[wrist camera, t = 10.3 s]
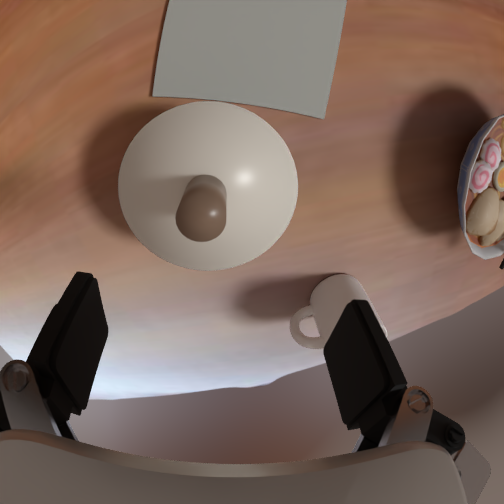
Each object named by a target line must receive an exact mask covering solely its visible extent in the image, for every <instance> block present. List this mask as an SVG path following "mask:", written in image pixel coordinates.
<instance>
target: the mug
mask: <svg viewBox="0 0 504 504" xmlns="http://www.w3.org/2000/svg"><path fill="white" fill-rule="evenodd" d="M353 299H358V300H367V301H368V302H369V304H370V306H371V308H372V310H373V312H374V314H375V316H376V318H377V320H378V322H379V324H380V326H381V328H382V330H383V332H384V334H385V336H386V338H387V330H386V328H385V326H384V324H383V322H382V321H381V319H380V317H379V315H378V313H377V311H376V310H375V308H374V306H373V304H372V302H371V301H370V299H369V297H368V295H367V293H366V292H365V290H364V288H363V287H362V285H361V283H360V282H359V281H358V280H357V279H356V278H355V277H353V276H350V275H347V274H338V275H334V276H331V277H328V278H326V279H325V280H323V281H322V282H320V283H319V284H318V285H317V286H316V287H315V289H314V290H313V292H312V294H311V298H310V305H309V306H306V307H303V308H301V309H300V310H298V311H297V312H296V313H295V314H294V315H293V316H292V318H291V321H290V332H291V335H292V337H293V339H294V340H295V341H296V342H297V343H298V344H300V345H301V346H304V347H306V348H311V349H321V348H324V346H325V344H326V342H327V341H328V339H329V337H330V335H331V333H332V331H333V330H334V328H335V326H336V324H337V322H338V320H339V318H340V316H341V314H342V312H343V310H344V308H345V306H346V305H347V304H348V303H350V302H351V301H352V300H353ZM311 315H313V316H314V319H315V322H316V325H317V328H318V331H319V334H320V337H314V338H313V337H307V336H305V335H304V334H303V333H302V332H301V331H300V328H299V323H300V321H301V320H302V319H303V318H305V317H307V316H311Z"/></svg>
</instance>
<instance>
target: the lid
mask: <svg viewBox="0 0 504 504" xmlns="http://www.w3.org/2000/svg"><path fill="white" fill-rule="evenodd" d="M118 194H119V201H120V206H121V210H122V212H123V215H124V218H125V220H126V222H127V224H128V226H129V227H130V229H131V231H132V232H133V233H134V235H135V236H136V238H137V239H138V240H139V241H140V242H141V243H142V244H143V245H144V246H145V247H146V248H147V249H149V250H150V251H151V252H152V253H154V254H155V255H157V256H158V257H160V258H162V259H164V260H165V261H167V262H169V263H172V264H175V265H177V266H180V267H184V268H188V269H194V270H205V271H213V270H223V269H228V268H232V267H236V266H239V265H242V264H244V263H247V262H249V261H251V260H253V259H255V258H256V257H258V256H260V255H261V254H263V253H264V252H265V251H267V250H268V249H269V248H270V247H271V246H272V245H273V244H274V243H275V242H276V241H277V240H278V239H279V238H280V236H281V235H282V234H283V232H284V231H285V229H286V228H287V226H288V224H289V222H290V220H291V218H292V216H293V213H294V209H295V206H296V201H297V195H298V179H297V171H296V167H295V164H294V160H293V158H292V155H291V153H290V151H289V149H288V147H287V145H286V144H285V142H284V141H283V139H282V138H281V137H280V135H279V134H278V133H277V132H276V131H275V129H274V128H272V127H271V126H270V125H269V124H268V123H267V122H266V121H265V120H263V119H262V118H260V117H259V116H257V115H256V114H254V113H252V112H250V111H248V110H246V109H244V108H242V107H239V106H236V105H233V104H229V103H224V102H218V101H201V102H192V103H188V104H184V105H180V106H177V107H175V108H172V109H170V110H167V111H165V112H163V113H162V114H160V115H158V116H157V117H155V118H154V119H152V120H151V121H150V122H149V123H147V124H146V125H145V126H144V127H143V128H142V129H141V130H140V131H139V132H138V133H137V134H136V136H135V137H134V139H133V140H132V142H131V143H130V144H129V146H128V148H127V150H126V152H125V154H124V157H123V160H122V163H121V166H120V171H119V177H118Z"/></svg>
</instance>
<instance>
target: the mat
mask: <svg viewBox="0 0 504 504" xmlns="http://www.w3.org/2000/svg"><path fill="white" fill-rule="evenodd" d="M346 2H347V0H170V1H169V5H168V9H167V13H166V18H165V22H164V27H163V32H162V37H161V42H160V48H159V54H158V60H157V66H156V73H155V80H154V88H153V96H155V97H181V98H196V99H208V100H218V101H227V102H235V103H242V104H249V105H256V106H262V107H268V108H273V109H279V110H284V111H289V112H294V113H299V114H303V115H308V116H312V117H316V118H320V119H324V117H325V112H326V107H327V103H328V98H329V93H330V89H331V84H332V79H333V74H334V69H335V64H336V59H337V53H338V48H339V43H340V37H341V32H342V26H343V20H344V14H345V8H346Z"/></svg>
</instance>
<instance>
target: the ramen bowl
mask: <svg viewBox="0 0 504 504" xmlns="http://www.w3.org/2000/svg"><path fill="white" fill-rule="evenodd" d="M457 194H458V207H459V219H460V224H461V228H462V230H463V233H464V236H465V238H466V240H467V242H468V244H469V247H470V249H471V251H472V253H473V254H475V255H477V256H479V257H481V258H483V259H484V260H486V259H490V258H494V257H498V256H500V255H502V254H503V253H504V114H503V115H500V116H498V117H495V118H493V119H491V120H489V121H488V122H486V123H485V124H484V125H483V126H482V127H481V128H480V130H479V131H478V132H477V134H476V135H475V136H474V137H473V139H472V140H471V141H470V143H469V145H468V147H467V150H466V153H465V155H464V158H463V160H462V162H461V165H460V173H459V179H458V186H457ZM499 268H500V269H503V268H504V259H503V261H502V263H501V265H500V267H499Z"/></svg>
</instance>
